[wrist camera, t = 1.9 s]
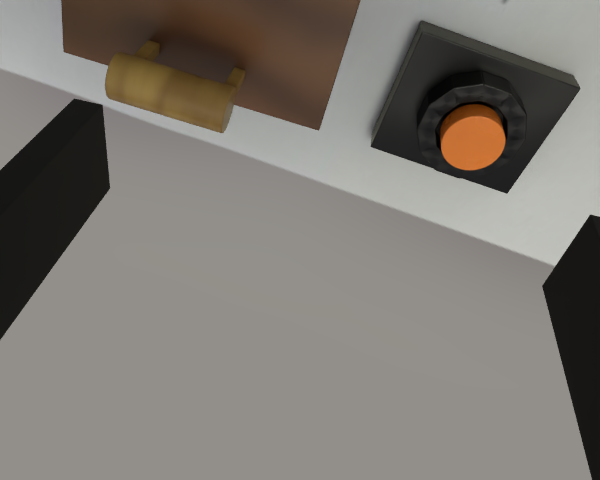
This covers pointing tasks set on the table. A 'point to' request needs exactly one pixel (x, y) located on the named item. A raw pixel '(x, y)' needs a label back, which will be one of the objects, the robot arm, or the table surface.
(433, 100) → the box
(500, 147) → the button
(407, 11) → the table surface
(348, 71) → the table surface
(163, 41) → the dark wooden panel
